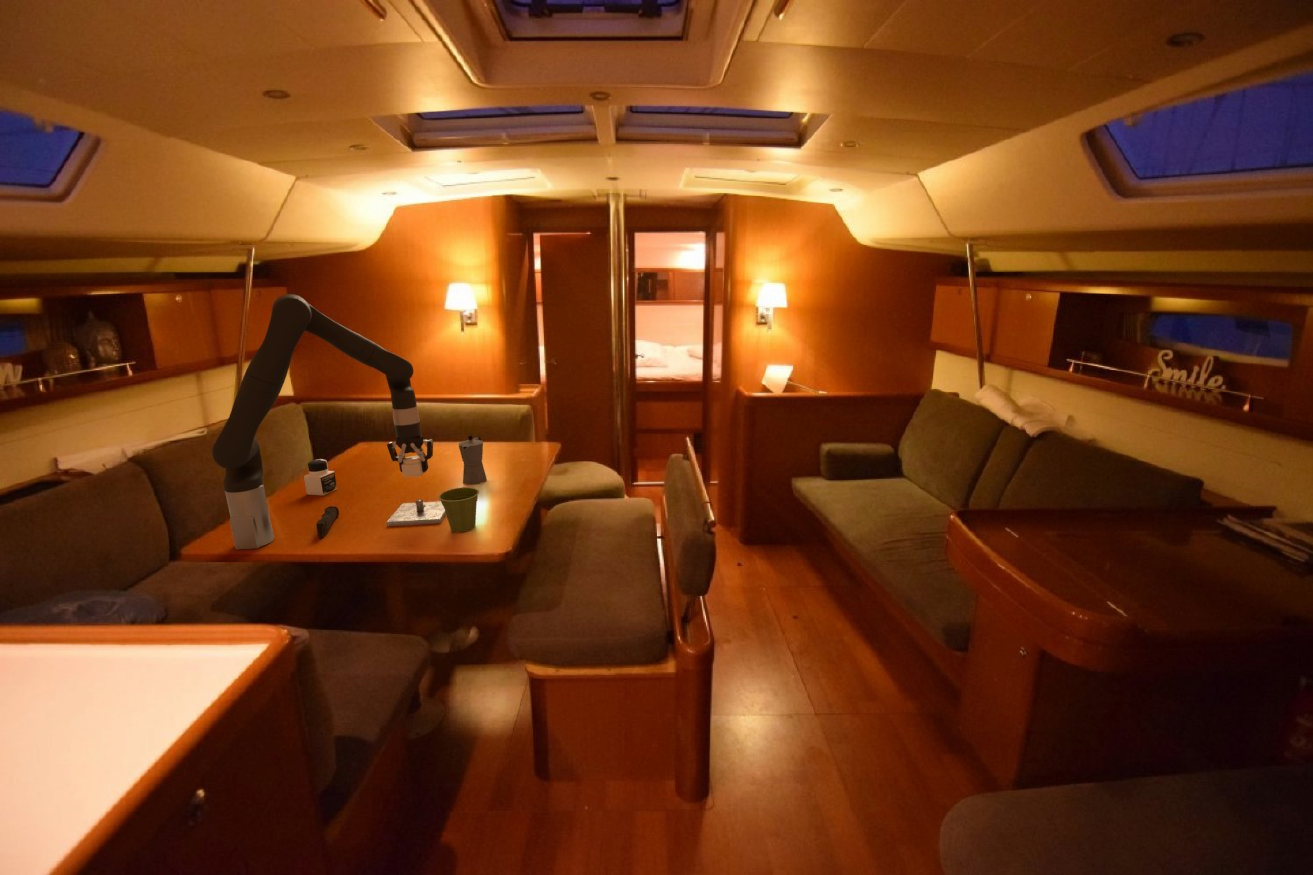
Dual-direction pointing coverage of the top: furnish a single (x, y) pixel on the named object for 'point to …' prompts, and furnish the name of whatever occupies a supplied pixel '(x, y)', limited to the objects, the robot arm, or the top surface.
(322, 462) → the medicine bottle
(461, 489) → the plant pot
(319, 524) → the hand tool
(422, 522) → the block
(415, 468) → the knob
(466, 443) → the coffeepot
